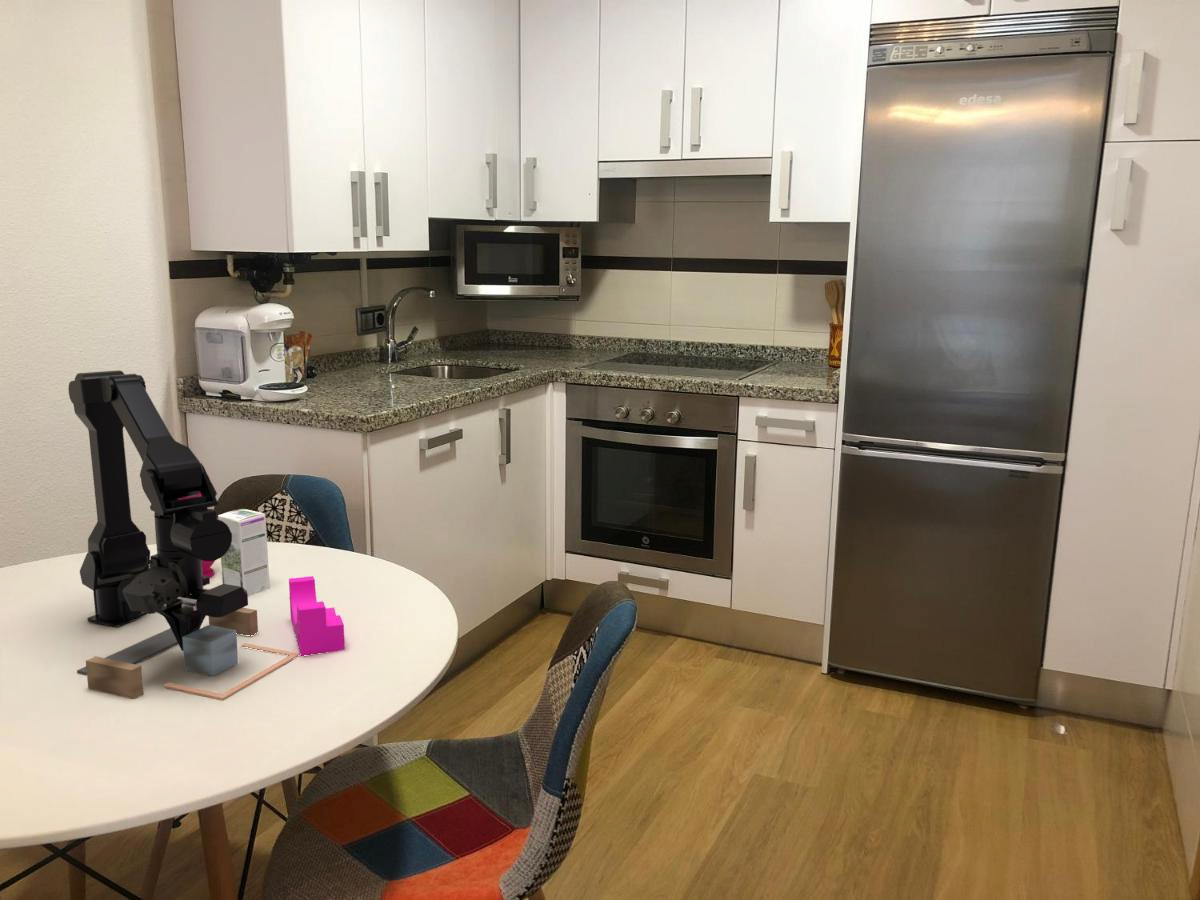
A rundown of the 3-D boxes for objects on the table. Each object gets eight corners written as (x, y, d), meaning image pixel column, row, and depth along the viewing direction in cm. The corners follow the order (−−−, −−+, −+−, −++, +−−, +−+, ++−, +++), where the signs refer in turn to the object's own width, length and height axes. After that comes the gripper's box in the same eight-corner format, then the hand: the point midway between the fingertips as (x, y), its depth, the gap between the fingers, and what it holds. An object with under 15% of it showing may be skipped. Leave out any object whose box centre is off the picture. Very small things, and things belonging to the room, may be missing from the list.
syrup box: (271, 593, 169) (267, 512, 167) (243, 602, 165) (238, 519, 162) (250, 586, 172) (245, 507, 170) (221, 596, 168) (216, 514, 165)
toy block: (344, 653, 145) (343, 605, 144) (301, 659, 143) (298, 610, 141) (331, 618, 159) (329, 574, 157) (291, 623, 156) (288, 578, 155)
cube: (184, 670, 138) (182, 637, 137) (210, 657, 142) (208, 624, 141) (213, 676, 136) (210, 642, 135) (238, 662, 140) (236, 630, 139)
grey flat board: (77, 673, 136) (76, 670, 136) (174, 628, 153) (174, 626, 153) (104, 678, 134) (104, 676, 134) (199, 633, 151) (199, 631, 151)
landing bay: (163, 687, 132) (163, 685, 132) (245, 645, 147) (245, 643, 147) (223, 700, 129) (222, 698, 129) (300, 655, 143) (300, 653, 143)
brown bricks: (88, 688, 131) (85, 660, 131) (216, 627, 154) (215, 602, 153) (133, 698, 129) (131, 670, 128) (258, 634, 151) (256, 610, 150)
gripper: (80, 553, 133) (90, 661, 136) (188, 570, 127) (196, 683, 130) (145, 533, 143) (152, 633, 146) (247, 547, 137) (253, 652, 140)
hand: (186, 650), depth 140 cm, fingers closed
